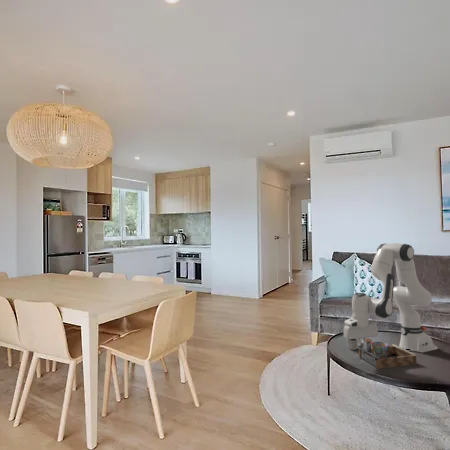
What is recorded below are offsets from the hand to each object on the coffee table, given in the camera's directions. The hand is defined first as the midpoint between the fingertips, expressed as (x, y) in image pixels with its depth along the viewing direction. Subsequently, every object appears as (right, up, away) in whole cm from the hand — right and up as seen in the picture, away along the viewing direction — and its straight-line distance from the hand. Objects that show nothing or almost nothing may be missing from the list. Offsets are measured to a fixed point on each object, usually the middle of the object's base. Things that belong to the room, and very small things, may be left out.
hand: (361, 345), depth 192 cm
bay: (+16, -10, +3) cm, 19 cm away
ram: (+5, -10, +1) cm, 11 cm away
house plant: (+5, -11, +24) cm, 27 cm away
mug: (+12, -10, +2) cm, 16 cm away
